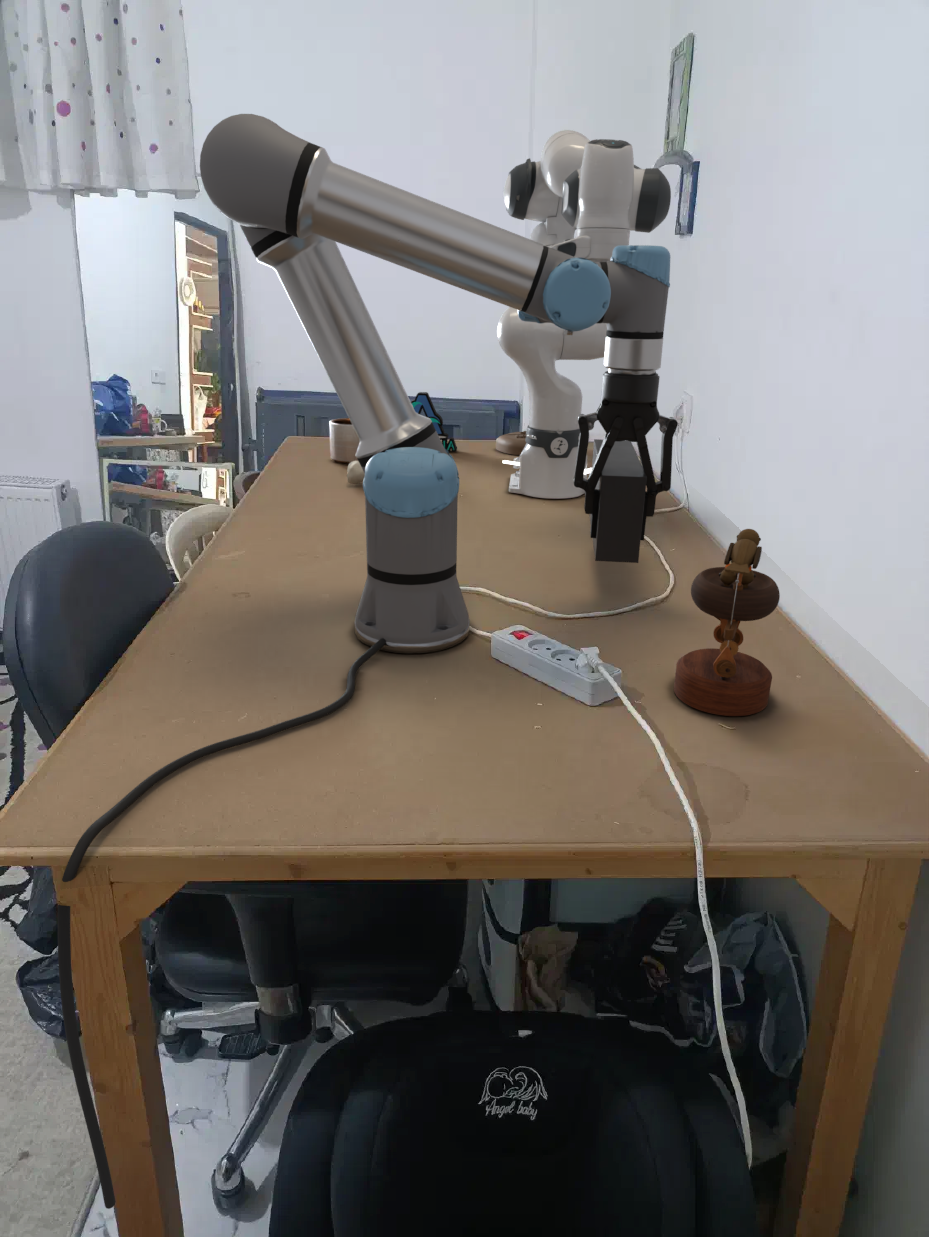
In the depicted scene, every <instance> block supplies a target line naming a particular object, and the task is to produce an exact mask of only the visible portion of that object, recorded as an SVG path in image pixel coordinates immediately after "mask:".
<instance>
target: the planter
mask: <svg viewBox="0 0 929 1237" xmlns="http://www.w3.org/2000/svg"><path fill="white" fill-rule="evenodd" d="M328 424H329V425H328V426H329V453H330V454H329V455H330V456H329V457H330V459H331V460H332V461H333V462H335V463H341V464H350V463H351V462H353V461H358V459H357V457H356V453H357V449H358V446H359V437H358V435H357V433H356V431H355V429H354V427H353V425H352V423H351V421H350V419H349V417H342V418H341V417H340V418H335V419H334V418H333V419H331V420H329V421H328Z"/></svg>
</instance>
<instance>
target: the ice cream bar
mask: <svg viewBox="0 0 929 1237" xmlns="http://www.w3.org/2000/svg"><path fill="white" fill-rule="evenodd" d="M526 431H527V430H523V431H513V432H509V433H505V434H502V435H500V436H498V437H497V438H496V440H495V450H496V451H499V452H501V453H504V454H509V455H515V456H520V454H521V453H522V451H523V449H524V447H525V445H526V441H525V440H526Z"/></svg>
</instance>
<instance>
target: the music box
mask: <svg viewBox="0 0 929 1237" xmlns="http://www.w3.org/2000/svg"><path fill="white" fill-rule="evenodd" d="M761 541H762V538H761V537H760V535H759V532H757V531H756V530H755V529H753V528H745V529H742V530H741V531H740V532H738V534H736V542H730V543H729V545H728V548H727V550H726V553H725V556H724V561H723V564H724V565H725V566H716V567H709V568H705V569H704V570H702V571H701V572H699V573H698V574H697V575H696V576H695V578H694V579H693V581H692V584H691V587H690V595H691V599H692V601H693V603H694V604H695V606H696V607H697V608H699V610H700V611H702V612H703V613H704V614H707V615H709V616H712V617H713V618H715V619H717V620H718V621H719V622H720V624H717V625H716V626H715V627H714V629H713V638H714V640H715V641H716V642H717V643H720V645H719V648H700V649H696V650H692V651H690V652H688V653H686V654H684V655H683V656H681V657H679V659H678V660H677V661H676V666H675V667H676V668H675V673H674V674H675V676H674V684H673V691H674V694H675V696H676V697H677V698H678V699H679V700H680V701H681V702H682V703H684V704H685V705H687V706H689V707H691V708H693V709H695V710H699V711H701V712H704V713H708V714H713V715H717V716H726V717H744V716H749V715H754V714H757V713H760V712H762V711H763V710H765V709H766V707H767V706H768V704H769V697H770V693H771V687H772V680H773V674H772V672H771V670H770V669H769V668H768V667H767V666H766V665H765V664H764V662H762V661H761V660H760V659H757V658H756V657H754V656H752V655H750V654H746V653H744V652H740V651H739V650H740V649H739V647H740V646H741V644H743V642H744V634H743V632H742V631H741V629H740V628H739V627H740V624H741V622H752V621H753V622H754V621H759V620H762V619H764V618H766V617H768V616H769V615H771V614H772V613H773V612H774V611H775V610H776V609H777V607H778V605H779V602H780V596H781V592H780V589H779V587H778V584H777V583H776V582H775V580H774V579H773V578H772V577H771V576H769V575H767V574H765V573H763V572H760V571H757V570H756V569H757V568H758V566H759V564H760V560H761V557H762V550H763V547H762V546H761V545H760V542H761ZM759 545H760V546H759Z"/></svg>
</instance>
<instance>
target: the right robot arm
mask: <svg viewBox="0 0 929 1237" xmlns="http://www.w3.org/2000/svg"><path fill="white" fill-rule="evenodd" d="M671 190H672V189H671V184H670V181H669V180H668V178H667V177H666V175H665V174H664V173H663V171H661V169H659V168H658V167H650V168H647V167H646V168H642V167H639V166H638V165H636V164H635V161H634V148H633V145H632V144H631V143H629V141H627V140H622V139H604V138H600V139H598V138H597V139H596V138H595V139H592V140H591V139H589V138H588V137H587V136H585V134H583V133H581V132H579V131H576V130H574V129H573V130H571V129H564V130H563V129H562V130H559V131H556V132H554V133H553V134H551V135H550V136H549V137H548V138H547V140H546V141H545V143H544V144H543V147H542V150H541V153H540V160H539V161H535V160H534V161H532V160H531V158H530V157H529V158H527V159H526V160H525V162H523V163H520V164H518V165H516V166H514V168H512V169H511V170H510V171H509V172H508V174H507V177H506V179H505V182H504V187H503V191H502V192H503V202H504V205H505V210H506V212H507V213H508V215H509V216H510V217H511V218H514V219H517V220H521V221H525V220H529V221H535V222H540V223H539V224H537V225H536V226H535V227H534V228H533V229H532V230H531V232H530V234H529V238H528V239H530V240H533V241H535V242H538V243H540V244H543V245H544V246H546V247H549V248H553V249H556V250H558V251H561V252H563V253H566V254H568V255H571V256H573V257H576V258H581V257H582V258H585V259H588V260H590V261H592V262H605V261H610V259H611V257H612V253H613V249H614V248H615V247H616V246H620V245H630V235H631V231H635V232H637V233H647V234H648V233H649V234H650V233H651V232H653V231H654V230H655V229H656V228H658V227H660V225H661V224H662V223H663V222H664V221H665V220H666V219H667V216H668V214H669V211H670V207H671V199H672V191H671ZM606 331H607V323H596V324H594V325H593V326H591V327H589V328H586V329H583V330H581V331H568V330H565V329H562V328H560V327H558V326H556V325H555V324H553V323H542V324H540V323H537V322H526V321H522V320H521V319H520V318H519V316H518V312H517V309H514V308H512V307H509V306H507V308H506V309H505V310H504V311H503V313H502V314H501V315H500V318H499V319H498V323H497V327H496V336H497V341H498V345H499V347H500V348H501V350H502V351H503V353H504V354H505V355H506V356H508V357H509V358H510V359H511V360H512V361H513V362H514V363H515V364H516V365H517V366H518V368H519V369H520V371H521V372H522V374H523V376H524V379H525V382H526V386H527V390H528V425H527V426H526V430H525V431H526V440H525V441H526V445H525V447H524V449H523V451H522V453H521V454H520V455H519V456H517V457H514V458H513V459H512V460H506V459H504V460H503V459H502V464H506V465H512V469H514V470H515V469H516V470H515V473H511V474H510V479H509V485H508V493H512V494H519V495H524V496H527V497H533V498H540V499H553V500H554V499H556V500H557V499H558V500H559V499H561V500H562V499H571V498H577V497H581V496H582V495H585V491H584V490H583V489H581V488H577V487H575V486H574V472H575V465H576V458H577V451H578V444H579V436H580V428H579V424H578V416H579V415H580V414H582V412H583V411H582V410H583V409H582V408H583V392H582V389H581V387H580V386H579V384H577V383H576V382H575V381H574V380H572V379H570V378H569V377H567V376H565V375H563V374H560V372H558V371H557V369H556V362H557V361H591V360H592V361H593V360H597V359H602V358H603V359H604V356H605V344H606ZM518 469H519V470H518ZM591 470H592V467H589V468H588V454H587V455H586V462H585V469H584V476H583V478H584V479H587V480H588V474H590V472H591Z"/></svg>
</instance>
